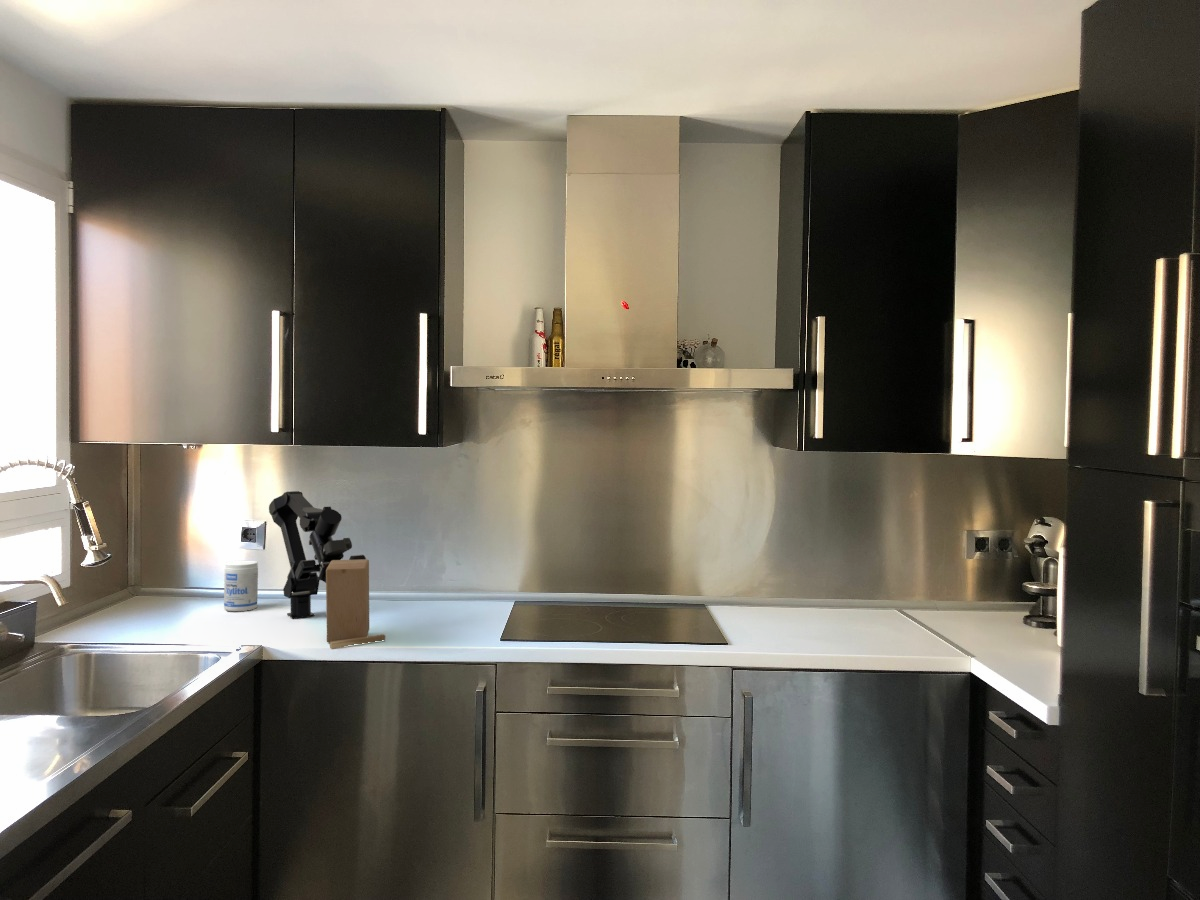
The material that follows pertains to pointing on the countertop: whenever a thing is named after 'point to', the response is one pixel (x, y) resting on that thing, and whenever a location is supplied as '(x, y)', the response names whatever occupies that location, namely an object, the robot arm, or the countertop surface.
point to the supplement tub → (241, 585)
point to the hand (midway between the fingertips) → (340, 591)
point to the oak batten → (356, 641)
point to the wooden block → (347, 599)
